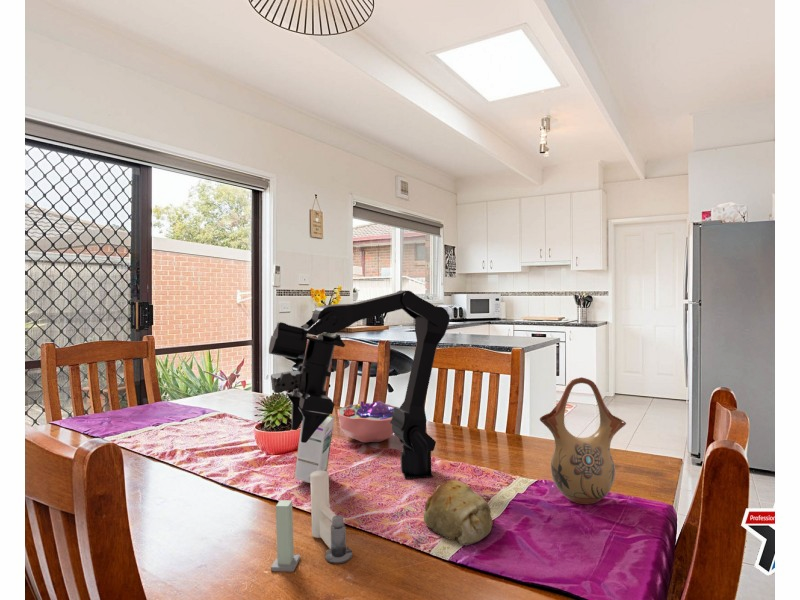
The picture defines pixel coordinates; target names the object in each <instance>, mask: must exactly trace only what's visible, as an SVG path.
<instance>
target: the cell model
mask: <svg viewBox="0 0 800 600" xmlns="http://www.w3.org/2000/svg"><path fill="white" fill-rule="evenodd" d="M394 407H396V406H394V405H391V404H387V403H385V402H383V401H381V400H378V401H376V402H375V401H372V403H370V402H369V403H368V402H367V403H364V401H360V403H358V404H348V405H346V406H343V407H341V408H339V409H337V412H336V413H337V415H338V420H339V421H338V422H339V428H340V429H341V430H342V432H343V433H344V434H345V435H346V436H347V437H348V438H350V439H353V440H356V441H358V442H361V443H364V444H366V443H367V444H368V443H370V442H371V443H380V442H383V441H387V440H388V439H390V438H391V437H392V436H393V434H394V433H393V431H392V424H391V423H390V421H391V420H392V417H393V409H394Z"/></svg>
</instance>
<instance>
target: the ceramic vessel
mask: <svg viewBox="0 0 800 600" xmlns="http://www.w3.org/2000/svg"><path fill="white" fill-rule="evenodd" d="M578 384H579V385H580V384H585V385H588V386H589V387H590V388H591V390H592V392H593V394H594V397H595V400H596V403H597V407H598V411H599V412H598V413H599V426H598V429H597V430H596V431H595V433H593V434H592V435H590V436H586V437H579V436H575V435H573V434H572V433H571V432H570V431H569V430H568V429H567V428H566V425H565V413H566V407H567V403H568V399H569V397H570V394H571V391H572V389H573V388H574V386H576V385H578ZM539 421H540V422H541V423H542V424H543V425H544V426H545V427H547V429H548V430H549V431H550V432H551V434H552V436H553V439H554V451H553V453H552V456H551V459H550V460H551V461H550V472H551V477H552V480H553V482H554V484H555V486H556V488H557V489H558V491H559V492H560V493H561V494H562V495H563V496H564V497H565V498H566V499H568V500H569V501H571V502H573V503H576V504H579V505H592V504H596V503H598V502H600V501H602V499H604V498H605V497H607V495H608V494H609V493H610V492H611V490H612V488H613V485H614V481H615V478H616V477H615V476H616V467H615V463H614V459H613V456H612V454H611V442H612V440H613V438H614V437H615V435H616V434H617V432H619V431H620V430H621V429H622V428H624V427H625V426H626V425H627V422H625V420H623V419H621V418H619V417H618V416H615V415H614V414H612V412H611V411H610V410H609V409H608V407H607V406H606V404H605V402H604V400H603V397H602V394H601V392H600V389H599V387H598V386H597V384H596V383H595V382H594V381H593V380H591V379H589V378H586V377H578V378H577V377H576V378H574V379H572V380H570V381H569V383H568V384H567V385H566V387H565V389H564V391H563V394H562V396H561V397H560V400H559V401H558V403H557V404H556V406H554V408H552V410H551V411H550V412H549V413H546V414H544V415H542V416H541V417H540V418H539Z"/></svg>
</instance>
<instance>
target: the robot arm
mask: <svg viewBox="0 0 800 600" xmlns="http://www.w3.org/2000/svg"><path fill="white" fill-rule="evenodd" d="M399 310H403V311H404V312H405V313H406V314H407V315H408V316H409V317H411V318H413V319H414V333H415V336H416V346H415V349H414V354H413V359H412V364H411V369H410V373H409V378H408V383H407V387H406V393H405V397H404V400H403V402H402V404H401V405H400V407H398V406H395V407H394V409H393V417H392V420H391V421H390V423H391V424H392V431H393V434H394V435H395V437H396V438H398V439H399V442H400V443H401V444H402V451H401V452H400V471H401V473H402V474H403V476H404V477H403V478H404V479H420V478H433V476H434V473H433V472H432V452H433V451H434V450H435V448H436V447H435V446H436V445H437V442H436V440H435V439H433V437H432V436H430V435H429V434H428V433H427V420H428V419H427V416H426V409H425V403H426V399H427V394H428V388H429V386H430V379H431V375H432V371H433V366H434V361H435V357H436V351H437V347H438V346H439V343H440V342H441V341H442V339H443V338H444V336H445V335H446V332H447V330H448V327H449V324H450V319H451V318H450V314H449V313H448V311H447V310H446V309H445V308H444V307H442V306H435V305H434V304H432V303H431V302H429V301H427V300H425V299H423V298H421V297H419V296H418V295H416V294H415V293H414V292H413V291H412V290H398V291H396V292H393V293H390V294H385V295H381V296H378V297H373V298H369V299H366V300H365V299H364V300H362V301H357V302H354V303H342V304H341V303H339V304H336V303H335V304H323V305H319V306H317V307H316V308H315V309H314V311H313V312H312V315H311V317H310V318H309V319H308V320H307V321H306V322H304V323H303V324H302V325H300V326H295V325H291V324H288V323H286V322H283V321H282V322H281V321H278V322H277V324H276V327H275V329H274V331H273V333H272V335H271V336H270V339H269V346H268V353H269V355H274V356H279V357H283V358H289V359H293V360H297V359H298V358H299V357H302V356H303V355H304V358H303V361H302V363H299V364H298V366H297V369H296V370H291V371H289V370H288V371H283V372H278V373H272V374H270V381H271V382H270V383H271V390H272V391H273V393H275V394H282V393H283V392H286V393H285V395H286V396H287V398H288V399H289V401H290V402H291V429H292V430H293V431H298V429H299V427H301V421H302V420H303V422H302V432H301V442H303V443H306V442H307V441H308V440H309V438H310V437H311V436H312V435H313V433H314V432H315V431H316V429H317V428H318V427H319V426H320V424H321V423H322V422H323V421H324V420H325V419H326V417H329V415H333V414H334V409H335V403H334V401H333V400H332V398H330V397H329V396H328V395H327V390H326V387H325V386H326V382H327V379H328V377H330V378H331V374H332V372H331V371H330V367H331V363H332V359H333V355H334V351H335V346H336V347H341V348H344V347H346V344H345V343H344V341H343V339H342V338H341V335H340V334H338V332H341V331H342V330H345V329H346V328H349V327H350V326H352V325H353V324H355V323H357V322H359V321H363V320H365V319H369V318H373V317H377V316H380V315H385V314H387V313H388V314H389V313H392V312H395V311H396V312H397V311H399ZM324 333H326V334H334V335H333V336H330V335H326V334H324ZM307 335H313V336H317V337H313V336H307Z"/></svg>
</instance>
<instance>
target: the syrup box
mask: <svg viewBox="0 0 800 600" xmlns="http://www.w3.org/2000/svg"><path fill="white" fill-rule="evenodd" d="M302 422H303V420H302V421H301V424H300V430H299V431H300V432H299V440H298V447H297V454H296V455H297V456H296V464H295V470H294V478H295V479H297V480H298V481H302V482H305V483H309V484H311V482H310V474H311V473H312V472H315V471H327V472H328V464H329V457H330V451H331V445H332V444H331V443H332V436H333V430H334V422H335V416H333V415H332V414H330V415H329V417H326V419H325V420H324V421H323V422H322V423H321V424H320V426H319V427H318V428H317V429H316V431H315V432H314V433H313V435H312V436H311V437H310V438H309V440H308V441H307V442H306V443H303V442H301V432H302Z"/></svg>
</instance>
